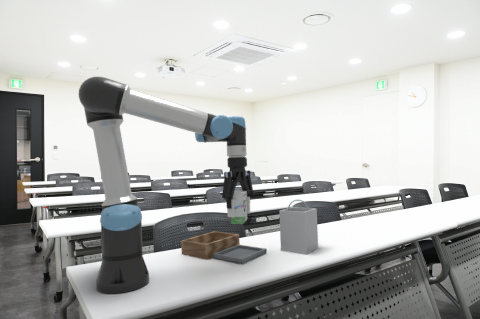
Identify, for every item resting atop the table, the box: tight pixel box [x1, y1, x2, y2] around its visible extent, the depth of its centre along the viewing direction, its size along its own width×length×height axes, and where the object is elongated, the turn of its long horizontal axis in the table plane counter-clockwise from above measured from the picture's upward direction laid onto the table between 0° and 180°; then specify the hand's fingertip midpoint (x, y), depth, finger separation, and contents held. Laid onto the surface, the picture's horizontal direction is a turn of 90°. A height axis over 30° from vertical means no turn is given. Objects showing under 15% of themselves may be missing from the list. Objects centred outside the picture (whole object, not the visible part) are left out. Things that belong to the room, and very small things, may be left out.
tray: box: [212, 244, 267, 265], centre depth 124 cm, size 16×14×2 cm
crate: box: [180, 231, 241, 260], centre depth 133 cm, size 20×14×6 cm
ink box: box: [230, 190, 248, 225], centre depth 124 cm, size 9×5×12 cm, turn 169°
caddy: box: [278, 206, 319, 255], centre depth 131 cm, size 11×11×16 cm
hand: (239, 215), depth 124 cm, fingers closed on ink box, 9 cm apart
